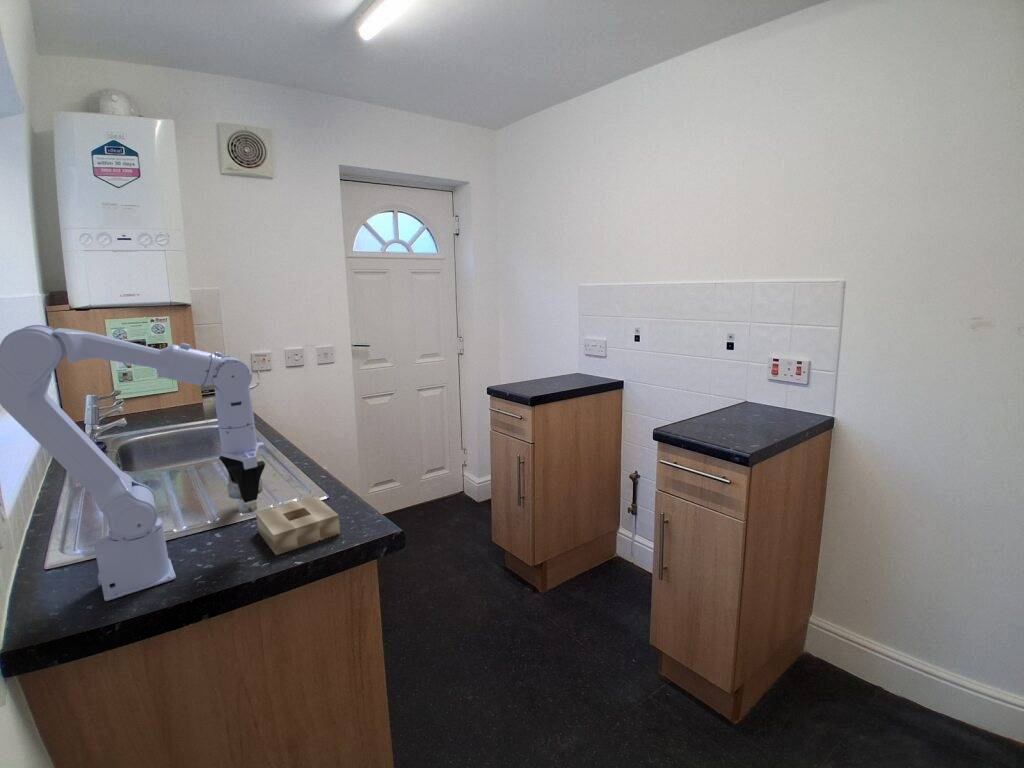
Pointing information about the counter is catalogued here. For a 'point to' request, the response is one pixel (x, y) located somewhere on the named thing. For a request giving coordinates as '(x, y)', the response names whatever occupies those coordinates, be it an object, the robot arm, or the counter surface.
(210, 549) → the counter surface
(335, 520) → the block
